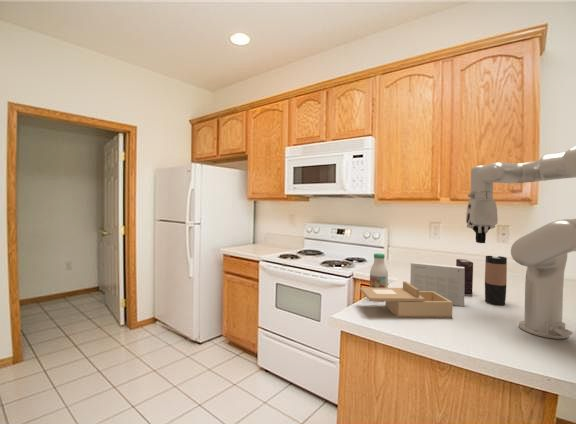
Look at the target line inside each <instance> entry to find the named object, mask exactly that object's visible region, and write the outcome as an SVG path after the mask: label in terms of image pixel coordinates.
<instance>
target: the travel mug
mask: <svg viewBox="0 0 576 424" xmlns="http://www.w3.org/2000/svg"><path fill="white" fill-rule="evenodd" d="M507 265H508V258H507V257H505V256H500V255H499V256H497V257H496V256H493V255H485V267H484V268H485V269H484V301H485V303H486V304H489V305H492V306H498V307H501V306H505V305H506V299H507V298H506V297H507V273H508V272H507V270H508V267H507Z"/></svg>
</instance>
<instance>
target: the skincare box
mask: <svg viewBox="0 0 576 424" xmlns="http://www.w3.org/2000/svg"><path fill="white" fill-rule="evenodd" d="M464 283H465V267H458V266H456V265H448V264H437V263H436V264H435V263H428V262H427V263H426V262H425V263H424V262H415V261H413V262H411V263H410V283H409V284H411V285H413V286H414V287H416V288H418V289H419V291H434V292H435V293H437V294H439V295H441V296H443V297H444V298H446V299H448V300H450V301H451V302H453V306H459V307H465V296H464Z"/></svg>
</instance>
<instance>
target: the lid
mask: <svg viewBox="0 0 576 424" xmlns="http://www.w3.org/2000/svg"><path fill="white" fill-rule="evenodd" d="M359 291H360V292H361V293H362V294H363V295H364V296H365V298H366V299H368V301H369V302H371V301H372V302H386V301H425V298H423V297H422V296H420V295H419V289H418V288H416V287H414V286H413V285H411V284H410V283H409V282H408V281H404V280H403V281H402V287H388V288H370V287H359Z"/></svg>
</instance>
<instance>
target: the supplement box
mask: <svg viewBox="0 0 576 424" xmlns="http://www.w3.org/2000/svg"><path fill="white" fill-rule="evenodd" d="M455 263H456V265H455V266H458V267H465V283H464V297H473V285H474V284H473V282H474V262H472V261H470V260H467V259H460V258H457V259H456V262H455Z"/></svg>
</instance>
